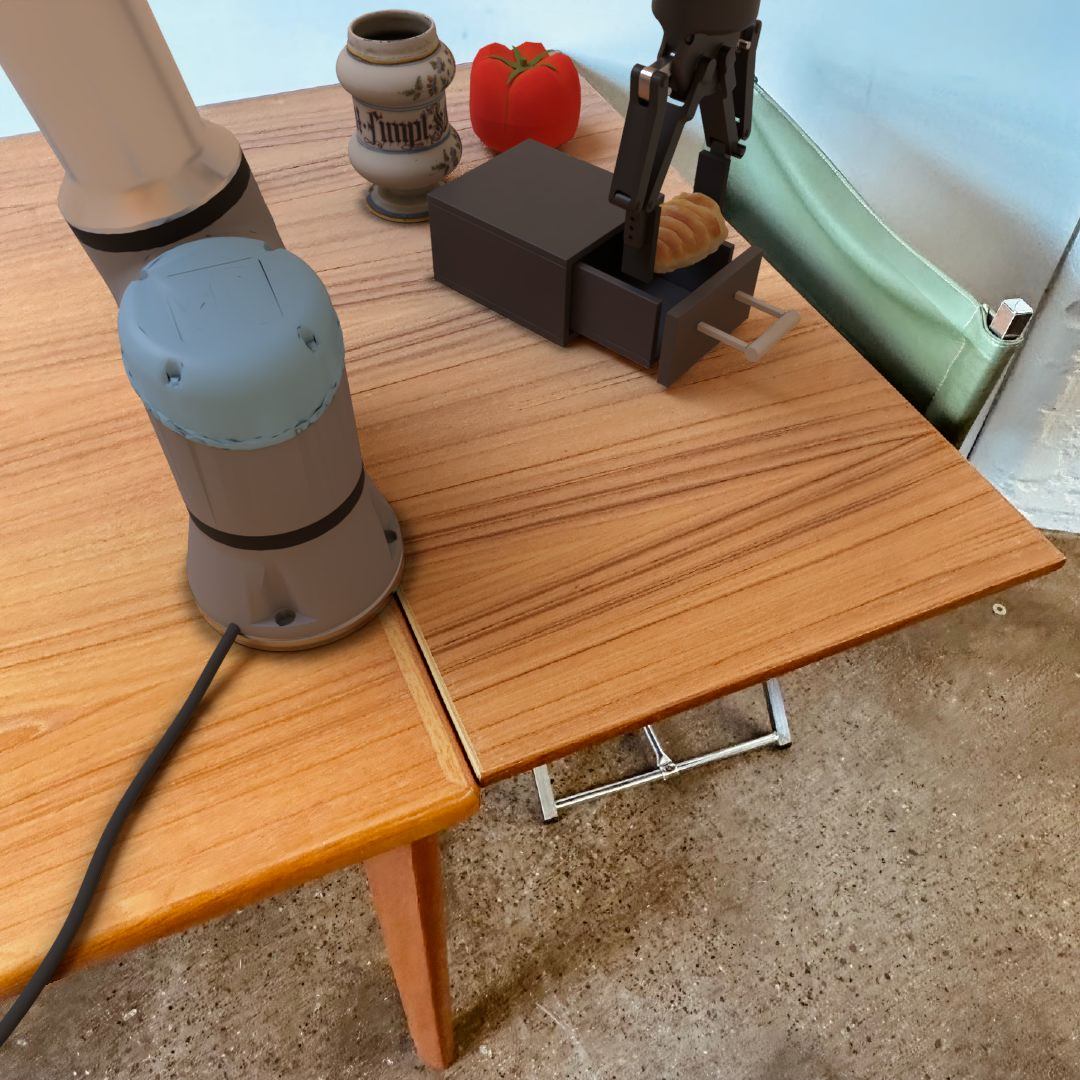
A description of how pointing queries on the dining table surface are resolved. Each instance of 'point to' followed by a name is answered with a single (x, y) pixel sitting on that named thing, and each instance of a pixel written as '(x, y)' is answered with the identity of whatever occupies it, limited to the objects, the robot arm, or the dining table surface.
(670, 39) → the robot arm
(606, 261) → the drawer
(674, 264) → the pastry
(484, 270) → the cabinet
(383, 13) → the apothecary jar
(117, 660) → the dining table surface
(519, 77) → the tomato
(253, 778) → the dining table surface
